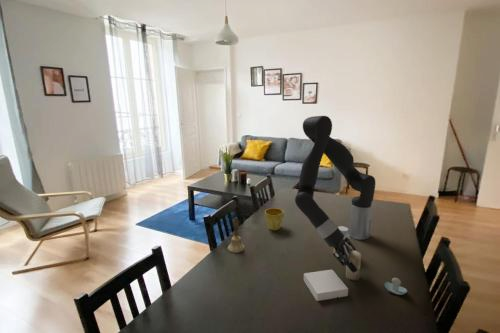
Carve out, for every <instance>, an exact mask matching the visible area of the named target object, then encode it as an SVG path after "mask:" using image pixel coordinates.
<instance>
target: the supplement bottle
mask: <svg viewBox="0 0 500 333" xmlns="http://www.w3.org/2000/svg"><path fill="white" fill-rule="evenodd" d="M337 227H338V228H339V230H340V231H341V232H342V233H343V235H344V238H343V239H345V238H346V237H347V238H348V239H349V240H350V241H351V236H350V235H349V228H348V227H346V226H342V225H340V226H337ZM332 252H333V253H335V249H334V248H333V250H332ZM333 253H332V254H333ZM344 256H345V255H344Z"/></svg>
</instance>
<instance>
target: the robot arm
mask: <svg viewBox="0 0 500 333" xmlns="http://www.w3.org/2000/svg"><path fill="white" fill-rule="evenodd" d="M302 122H303V123H302V130H303V133H304V134H305V136H306V137H307V138H308V139H309V140H310V141H312V142H313V143H314V144H313V146H312V148H311V150H310V152H309V153H308V155H307V156H306V158H305V159H304V161H303V163H302V166H301V170H300V176H299V182H298V183H299V184H298V190H297V193H296V195H295V198H294V203H295V205H296V206H297V208H298V209H299V210H300V211H301V212H302V214H304V215H305V217H306V218H307V219H308V220H309V222H310V223H311V224H312V226H313V227H314V229H315V230H316V231H317V233H318V234H319V236H320V237H321V238H322V239H323V240H324V242H325V243H326V244H327V245H328V246H329V247H330V248H333V249H335V253H332V255H333V257H334V258H335V259H336V260H337V261H338V262H339V264H341V266H342V267H344V266H346V265H347V266H348V267H349V269H350V270H351V271H352V272H353V273H354V272H356V271H357V268H356V267H355V266H354V264H353V263H352V262H351V261H350V259H349V254H348V251H357V250H356V249H357V248H356V247H355V246H354V245H353V243H352V242H351V239H350V240H349V239H348V238H347V237H346V238H345V239H343V238H344V235H343V233H342V232H341V231H340V230H339V228H338V227H339V226H337V225H336V224H335V222H334V221H333V220H332V219H330V216H328V214H327V213H326V212H325V211H324V210H323V208H321V207H320V206H319V204H317V202H316V201H315V199H314V194H315V188H316V183H317V180H318V174H319V171H320V165H321V162H322V159H323V156H324V155H325V156H326V158H327V159H329V161H330V163H332V164H333V166H334V168H335V167H336V169H337V170H338V171H339V172H340V173H341V175H342V176H343V177H344V178H345V180H346V182H347V183H348V185H349V186H350V187H351V189H352V190H354V191H357V192H359V193H360V194H359V196H354V197H352V199H351V206H350V220H349V229H348V234H349V235H350V238H352V239H355V240H359V241H360V240H361V241H362V240H367V239H369V238H370V237H371V229H372V219H371V210H372V204H373V201H374V196H375V190H376V178H375V176H373V175H371V174H366V173H363V172H361V171H359V170H358V169H357V168H356V167H355V165H354V156H353V155H352V153H351V152H350V150H349V149H348V148H347V147H346V146H345V144H343V143H341V142H339V141H338V140H336V139H334V138H332V137H331V134H332V130H333V121H332V119H331V118H330V117H329V116H327V115H315V116H310V117H307V118H305V119H304V120H303V121H302ZM344 255H345V256H344Z"/></svg>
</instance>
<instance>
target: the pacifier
mask: <svg viewBox="0 0 500 333" xmlns="http://www.w3.org/2000/svg"><path fill="white" fill-rule="evenodd" d="M401 284H402V281H401V280H400V279H399V277H393V278H392V279H391V282H389V281H385V282H384V288H385V289H386V290H387V291H389V292H391V293H392V294H395V295H401V296H402V295H405V294H407V292H408V290H407V288H405V287H403V286H401Z"/></svg>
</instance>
